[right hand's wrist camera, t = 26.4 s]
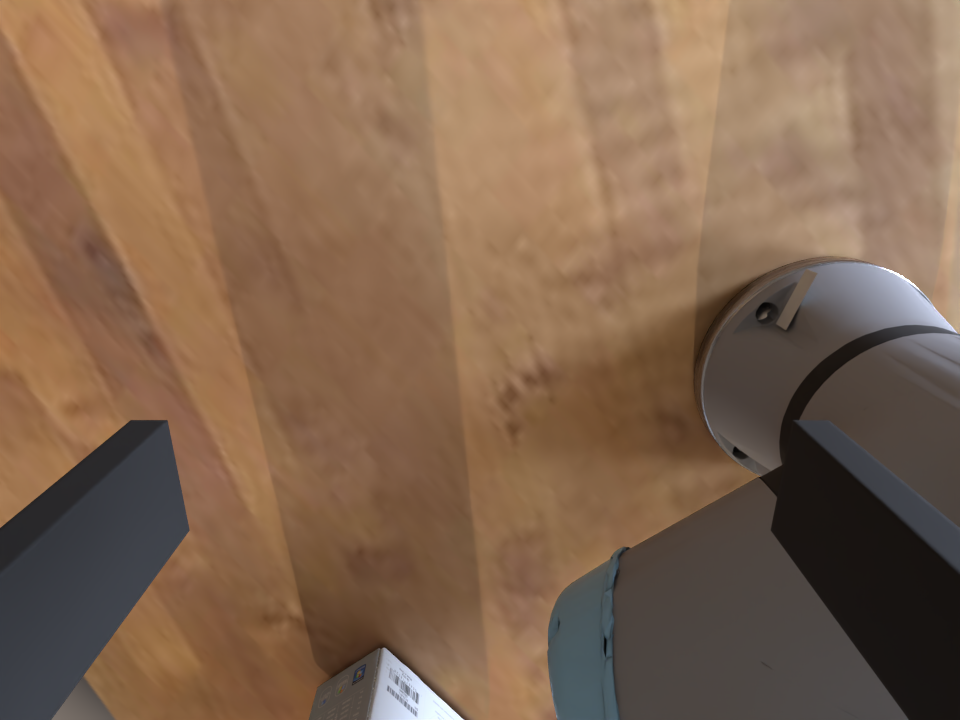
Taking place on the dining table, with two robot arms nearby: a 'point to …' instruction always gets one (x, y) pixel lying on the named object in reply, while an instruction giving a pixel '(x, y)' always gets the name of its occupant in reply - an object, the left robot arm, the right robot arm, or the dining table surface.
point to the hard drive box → (378, 693)
